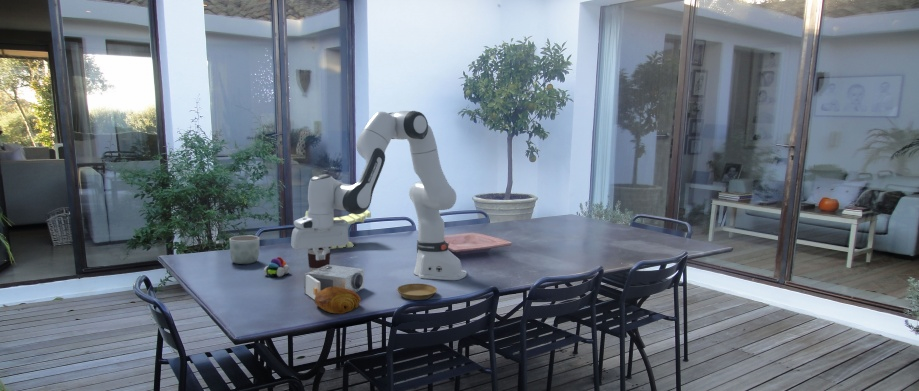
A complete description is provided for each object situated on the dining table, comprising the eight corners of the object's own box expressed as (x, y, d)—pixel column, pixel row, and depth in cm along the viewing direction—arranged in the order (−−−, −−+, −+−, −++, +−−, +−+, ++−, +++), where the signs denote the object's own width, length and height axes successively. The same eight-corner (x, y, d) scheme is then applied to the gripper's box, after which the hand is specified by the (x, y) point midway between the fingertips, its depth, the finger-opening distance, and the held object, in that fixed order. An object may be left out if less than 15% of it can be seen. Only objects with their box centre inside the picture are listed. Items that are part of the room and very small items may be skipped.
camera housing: (366, 288, 210) (367, 268, 210) (347, 298, 197) (348, 277, 196) (327, 283, 216) (327, 263, 215) (306, 292, 203) (306, 272, 202)
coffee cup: (305, 273, 229) (305, 238, 227) (329, 272, 233) (329, 237, 231) (307, 279, 220) (307, 243, 218) (333, 278, 223) (333, 241, 222)
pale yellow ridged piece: (361, 239, 301) (361, 207, 299) (370, 245, 287) (370, 211, 285) (305, 243, 287) (305, 209, 285) (312, 250, 273) (311, 214, 271)
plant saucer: (445, 296, 205) (445, 289, 204) (416, 304, 194) (416, 297, 193) (417, 287, 214) (417, 281, 214) (388, 295, 203) (388, 288, 203)
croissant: (325, 323, 178) (326, 301, 176) (309, 303, 191) (309, 282, 189) (366, 315, 186) (367, 293, 184) (348, 296, 199) (349, 276, 197)
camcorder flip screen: (320, 301, 192) (320, 281, 192) (315, 302, 191) (315, 282, 191) (307, 292, 203) (307, 273, 202) (302, 292, 202) (302, 273, 201)
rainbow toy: (292, 273, 230) (292, 256, 229) (279, 278, 221) (279, 261, 220) (274, 271, 232) (274, 254, 231) (260, 276, 223) (260, 259, 222)
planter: (223, 264, 241) (223, 239, 239) (241, 258, 253) (240, 234, 251) (248, 266, 238) (248, 241, 237) (265, 260, 250) (265, 236, 248)
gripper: (344, 217, 202) (344, 254, 204) (289, 221, 190) (289, 260, 191) (352, 220, 197) (351, 258, 199) (295, 224, 185) (295, 264, 186)
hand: (320, 259), depth 195 cm, fingers closed
